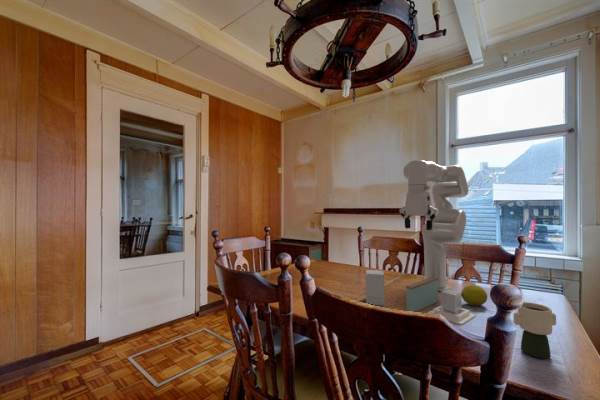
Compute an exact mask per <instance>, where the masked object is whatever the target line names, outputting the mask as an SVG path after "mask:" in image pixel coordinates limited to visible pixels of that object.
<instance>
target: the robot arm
mask: <svg viewBox="0 0 600 400" xmlns="http://www.w3.org/2000/svg"><path fill="white" fill-rule="evenodd" d="M403 176H404V177H405V179H407V192H406V195H405V203H404V204H405V205H404V206H403V207H401V208H400V209H399V211H398V212H399V213H400V215H401V217H402V218H403V220H404V228H405V229H411V219H410V218H411V217H412V216H418V217H419V216H420V217H421V216H424V217H425V218H426V221H425V222H426V223H425V224H423V226H422V228H421V235H422V239H423V240H422V241H423V251H424V254H423V255H424V258H423V259H424V280H425V279H428V278H431V277H435V278H438V280H437V282H438V292H441V291H444V290H446V289H449V290H451V286H450V284H447V282H448V281H449V280H450V278H449V277H448V276H447V252H446V250H445V248H444V246H443V245H442V244H452V245H453V244H454V245H457V244H459V243H461V241H462V240H463V237H464V232H465V228H466V224H467V214H466V212H465V211H464V210H462V209H459V208H454V207H453V204H452V203H451V202H450V201H449V200H448V199H447V198H451V199H452V198H465V197H467V195H468V194H469V185H468V182H467V181H468V180H467V178H466V174H465V172H464V169H463V168H462V166H461V165H459V164H454V165H439V164H436V162H434V161H426V160H423V159H416V160H411V161H409V162H408V163H406V165H405V166H404V167H403ZM428 182H433V183H435V184H434V185H433V186H432V189H431V186H430V185H428ZM428 190H431V191H432V198H431V193H430V191H429V192H428ZM432 199H433V203H434V206H432V205H433V204H432Z"/></svg>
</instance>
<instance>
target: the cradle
mask: <svg viewBox="0 0 600 400" xmlns="http://www.w3.org/2000/svg"><path fill="white" fill-rule="evenodd" d="M461 308H462V307H461ZM430 312H432V314H441V315H442V316H444V317H445V318H446V319H447V320H448V321H447V320H446V321H447V322H450V323H454V324H457V325H459V326H464V325H465V324H467V323H468V322H469V321H471V320H473V319H474V318H475V317H477V314H474V313H471V310H470V309H466V308H462V313H460V314H458V315H455V314H452V313H448V312H445V311H442V310H441V305H439V306H437V307H434V308H433V309H432V310H431V311H428V312H427V313H430Z"/></svg>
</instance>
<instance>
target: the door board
mask: <svg viewBox="0 0 600 400" xmlns="http://www.w3.org/2000/svg"><path fill="white" fill-rule="evenodd" d="M437 280H438V278H435V277H431V278H428V279H425V278H424V279H423V280H420V281H416V282H414V283H410V284H408V285H406V286H405V287H406V289H405V290H406V291H405V292H406V312H407V311H415V312H418V311H421V310H422V309H425V308H427V307H428V306H431V305H433V304H435V303H437V302H439V300H438V299H439V297H438V296H439V294H438V293H439V291H438V282H437ZM415 312H414V313H415Z"/></svg>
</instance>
